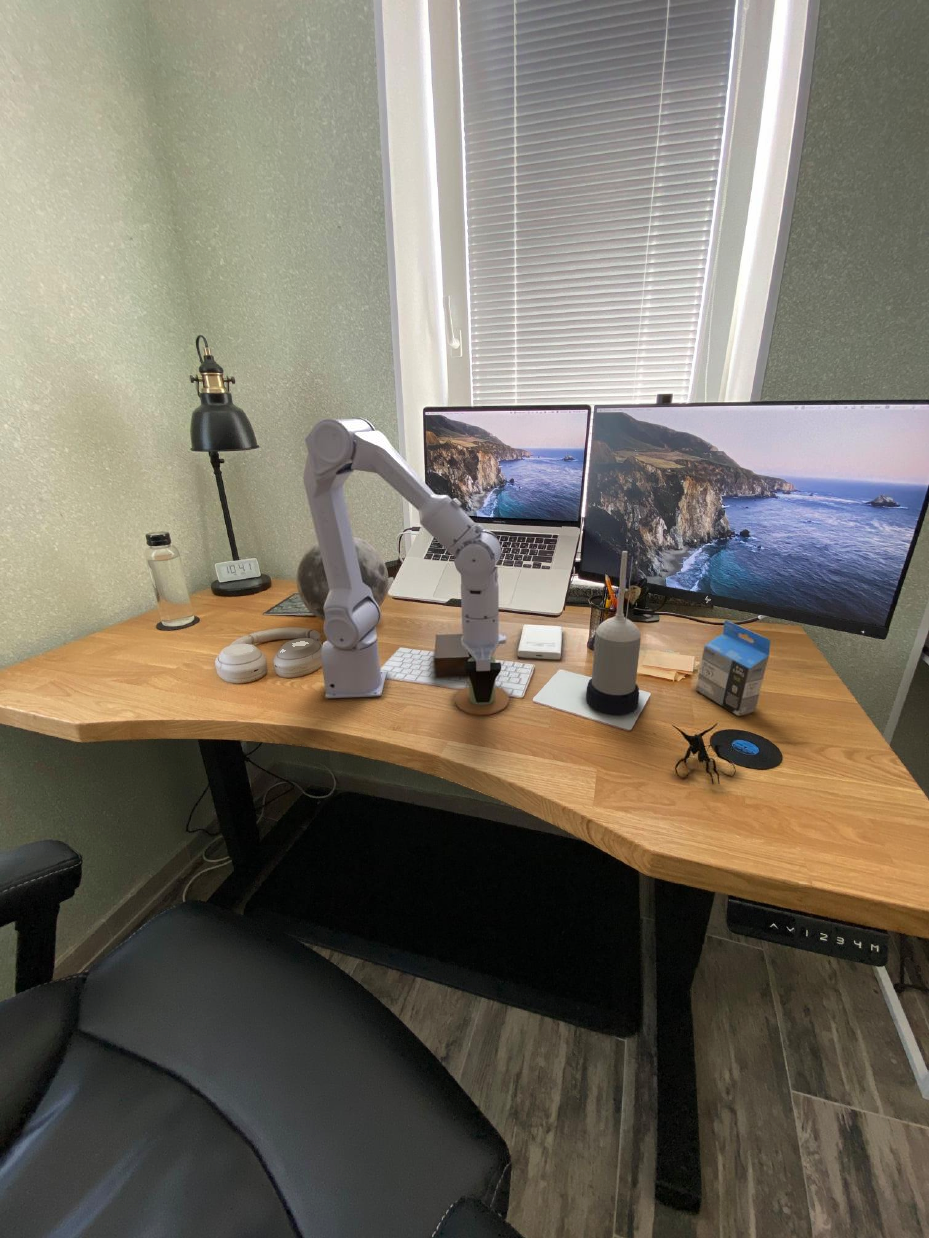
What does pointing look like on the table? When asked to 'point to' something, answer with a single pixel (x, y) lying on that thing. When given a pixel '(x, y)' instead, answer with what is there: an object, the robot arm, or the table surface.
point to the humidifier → (615, 660)
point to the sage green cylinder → (471, 693)
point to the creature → (700, 752)
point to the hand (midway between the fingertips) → (481, 688)
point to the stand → (450, 656)
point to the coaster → (471, 708)
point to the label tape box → (734, 669)
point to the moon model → (315, 581)
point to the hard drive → (540, 642)
